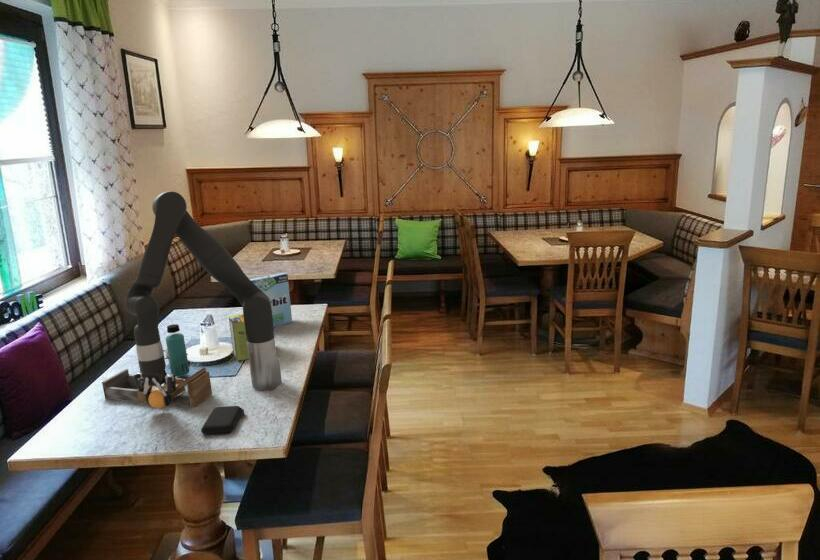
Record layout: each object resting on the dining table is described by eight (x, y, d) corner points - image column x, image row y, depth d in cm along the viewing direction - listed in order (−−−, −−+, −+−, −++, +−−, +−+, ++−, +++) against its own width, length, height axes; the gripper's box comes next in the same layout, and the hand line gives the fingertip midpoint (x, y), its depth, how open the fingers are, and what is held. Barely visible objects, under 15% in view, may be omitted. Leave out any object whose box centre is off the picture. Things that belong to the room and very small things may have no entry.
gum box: (252, 332, 257) (246, 282, 251) (248, 329, 261) (242, 280, 255) (292, 322, 268) (288, 274, 262) (288, 319, 272) (283, 272, 266)
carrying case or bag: (236, 435, 171) (248, 411, 185) (235, 426, 170) (246, 403, 184) (199, 437, 171) (214, 413, 185) (198, 428, 170) (213, 405, 184)
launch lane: (214, 393, 198) (210, 366, 196) (194, 408, 188) (189, 379, 186) (128, 384, 208) (123, 358, 206) (105, 398, 198) (99, 371, 196)
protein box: (276, 353, 231) (272, 316, 227) (237, 361, 225) (232, 323, 221) (270, 345, 241) (266, 309, 236) (232, 352, 234) (227, 316, 230)
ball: (174, 403, 188) (171, 386, 186) (161, 412, 182) (158, 395, 181) (158, 402, 190) (155, 385, 188) (146, 411, 184) (142, 393, 183)
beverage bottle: (184, 381, 209) (176, 328, 204) (167, 380, 210) (159, 328, 205) (194, 373, 215) (186, 322, 210) (178, 372, 217) (170, 322, 211)
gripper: (178, 352, 183) (186, 400, 187) (140, 349, 187) (148, 397, 191) (162, 361, 176) (171, 411, 180) (123, 358, 180) (132, 408, 184)
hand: (159, 404), depth 186 cm, fingers closed on ball, 6 cm apart
